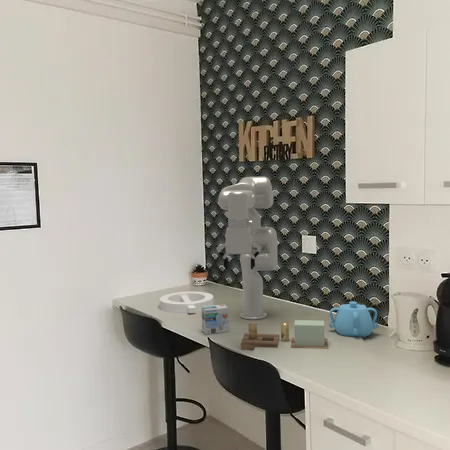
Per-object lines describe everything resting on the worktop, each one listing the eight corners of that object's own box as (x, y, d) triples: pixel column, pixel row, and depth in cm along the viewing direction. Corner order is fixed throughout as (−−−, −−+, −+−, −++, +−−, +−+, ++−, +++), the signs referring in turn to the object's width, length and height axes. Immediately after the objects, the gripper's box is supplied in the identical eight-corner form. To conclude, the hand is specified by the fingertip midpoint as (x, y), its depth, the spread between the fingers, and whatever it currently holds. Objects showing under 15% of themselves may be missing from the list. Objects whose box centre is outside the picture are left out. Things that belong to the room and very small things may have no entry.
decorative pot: (353, 343, 192) (352, 309, 190) (325, 333, 205) (324, 301, 204) (382, 336, 200) (382, 303, 198) (353, 326, 214) (353, 295, 212)
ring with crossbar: (193, 316, 238) (192, 306, 238) (148, 309, 253) (148, 300, 252) (223, 303, 262) (223, 294, 261) (181, 297, 276) (181, 289, 276)
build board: (244, 339, 200) (244, 320, 199) (279, 340, 198) (278, 320, 197) (241, 349, 188) (240, 329, 187) (277, 350, 186) (277, 329, 185)
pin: (281, 341, 196) (280, 321, 195) (289, 341, 196) (289, 322, 195) (280, 344, 193) (280, 324, 192) (289, 344, 192) (288, 324, 192)
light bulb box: (205, 334, 207) (204, 309, 206) (201, 330, 214) (200, 306, 213) (229, 332, 210) (228, 307, 209) (225, 327, 217) (224, 303, 216)
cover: (295, 339, 194) (294, 320, 193) (323, 340, 192) (323, 320, 191) (294, 345, 187) (294, 325, 187) (324, 346, 186) (324, 325, 185)
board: (291, 340, 197) (291, 324, 196) (327, 341, 195) (327, 324, 194) (290, 350, 185) (290, 333, 184) (328, 351, 183) (328, 334, 182)
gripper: (262, 222, 187) (263, 267, 189) (217, 223, 190) (218, 267, 191) (260, 224, 180) (261, 270, 181) (214, 225, 182) (215, 270, 184)
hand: (239, 268), depth 186 cm, fingers open, 9 cm apart
